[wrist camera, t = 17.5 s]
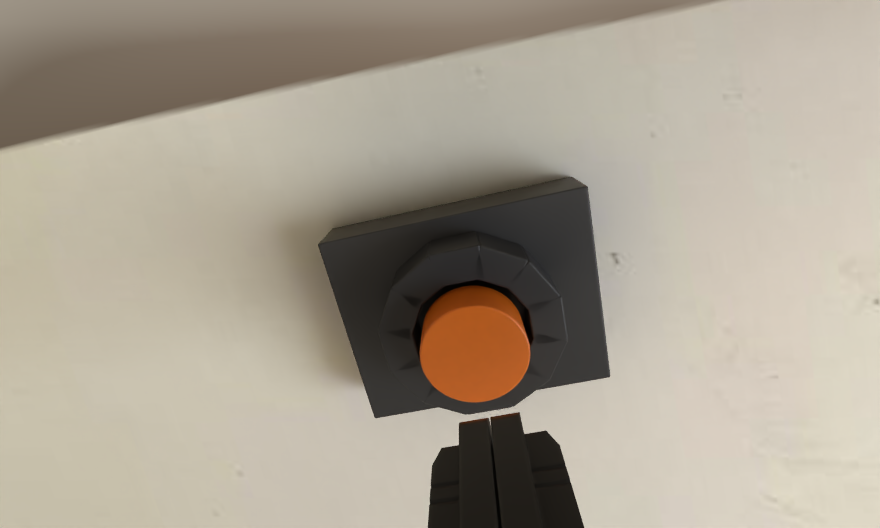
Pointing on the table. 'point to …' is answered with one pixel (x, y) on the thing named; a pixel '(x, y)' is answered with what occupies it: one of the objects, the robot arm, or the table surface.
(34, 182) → the table surface
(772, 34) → the table surface
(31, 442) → the table surface
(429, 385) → the control block
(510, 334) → the button
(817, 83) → the table surface
